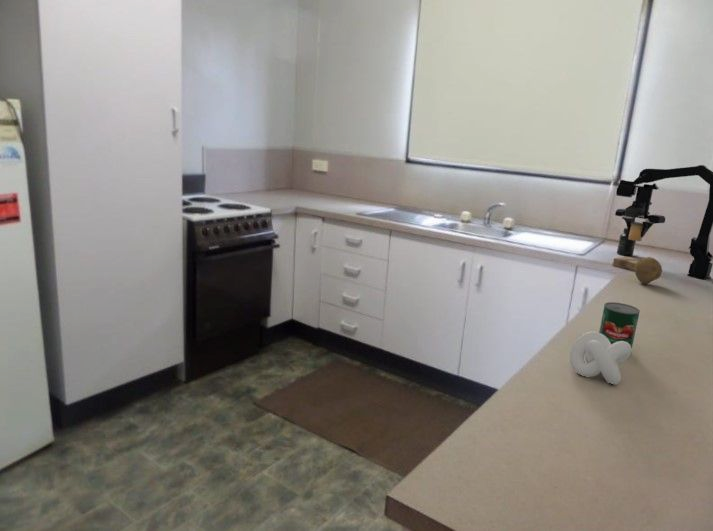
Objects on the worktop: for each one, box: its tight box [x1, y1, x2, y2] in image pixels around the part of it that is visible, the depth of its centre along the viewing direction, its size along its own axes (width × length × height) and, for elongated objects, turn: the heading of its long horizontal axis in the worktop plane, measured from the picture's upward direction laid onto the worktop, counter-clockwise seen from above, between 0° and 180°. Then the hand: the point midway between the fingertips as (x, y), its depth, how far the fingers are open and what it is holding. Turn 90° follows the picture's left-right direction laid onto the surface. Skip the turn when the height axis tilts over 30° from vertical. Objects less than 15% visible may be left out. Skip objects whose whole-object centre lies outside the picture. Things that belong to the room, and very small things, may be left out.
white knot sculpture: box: [569, 330, 633, 385], centre depth 118 cm, size 11×12×9 cm
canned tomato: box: [598, 301, 641, 350], centre depth 135 cm, size 8×8×11 cm
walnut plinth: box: [612, 256, 639, 272], centre depth 227 cm, size 10×10×3 cm
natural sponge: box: [634, 256, 663, 285], centre depth 202 cm, size 9×9×10 cm
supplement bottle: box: [616, 227, 637, 257], centre depth 252 cm, size 7×7×12 cm
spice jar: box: [628, 221, 643, 242], centre depth 232 cm, size 5×5×7 cm
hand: (635, 236), depth 232 cm, fingers closed on spice jar, 5 cm apart
